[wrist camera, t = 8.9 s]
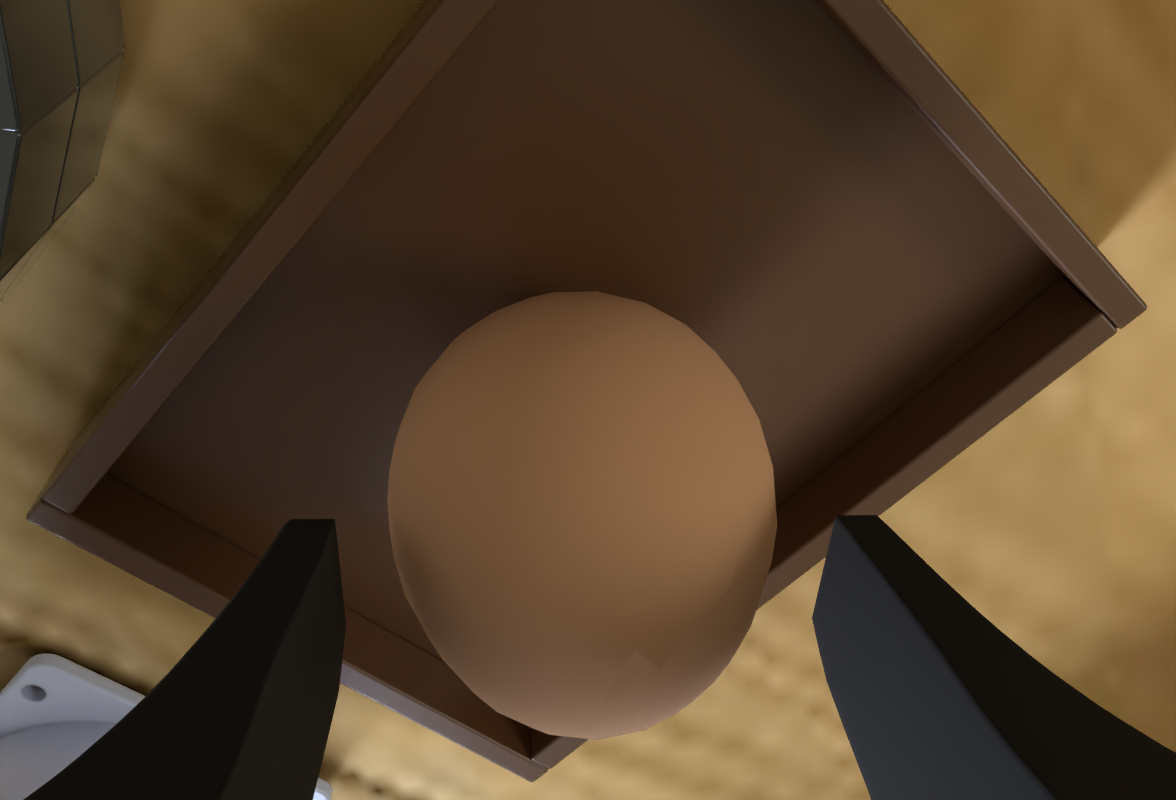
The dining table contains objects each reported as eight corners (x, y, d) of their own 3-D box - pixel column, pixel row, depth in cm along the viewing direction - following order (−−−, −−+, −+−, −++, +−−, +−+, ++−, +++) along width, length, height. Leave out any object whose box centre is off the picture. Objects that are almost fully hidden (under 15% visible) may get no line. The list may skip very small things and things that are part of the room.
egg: (366, 259, 18) (285, 568, 11) (706, 190, 18) (831, 465, 11) (453, 520, 21) (430, 880, 14) (741, 466, 21) (853, 805, 14)
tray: (530, 711, 25) (532, 784, 23) (64, 452, 20) (22, 520, 18) (1092, 257, 19) (1150, 308, 18) (635, -264, 14) (653, -264, 13)
